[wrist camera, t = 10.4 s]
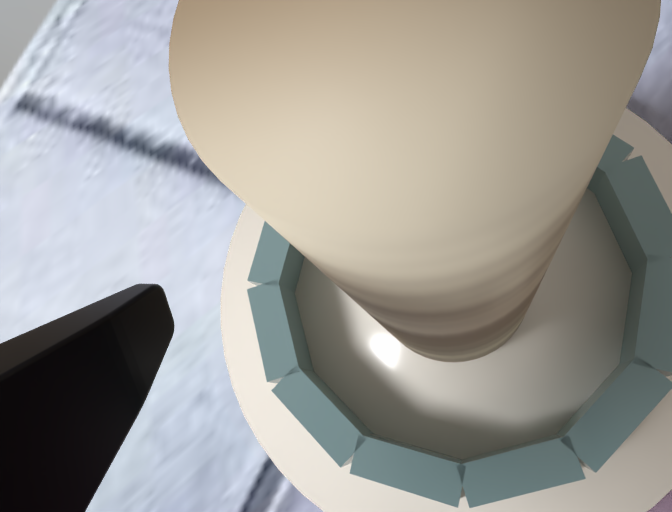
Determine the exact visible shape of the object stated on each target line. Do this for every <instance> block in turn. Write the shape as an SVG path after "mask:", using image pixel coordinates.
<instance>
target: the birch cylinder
mask: <svg viewBox="0 0 672 512" xmlns="http://www.w3.org/2000/svg"><path fill="white" fill-rule="evenodd" d="M660 6H661V0H179V2H178V5H177V9H176V12H175V15H174V19H173V25H172V31H171V37H170V43H169V74H170V83H171V92H172V96H173V99H174V103H175V107H176V111H177V114H178V117H179V120H180V122H181V124H182V126H183V129H184V131H185V133H186V135H187V138H188V140H189V141H190V143H191V144H192V146H193V147H194V149H195V150H196V152H197V153H198V155H199V157H200V158H201V160H202V161H203V162H204V163H205V164H206V165H207V167H208V168H209V169H210V170H211V171H212V172H213V173H214V174H215V175H216V177H217V178H218V179H219V180H220V181H221V182H222V183H223V184H225V185H226V186H227V187H228V188H229V189H230V190H231V191H232V192H233V193H235V194H236V195H237V196H238V197H239V198H240V199H241V200H242V201H243V202H245V203H246V204H247V205H248V206H249V207H250V208H251V209H252V210H253V211H255V212H256V213H257V214H258V215H259V216H260V217H261V218H262V219H264V220H265V221H266V222H267V223H268V224H269V225H270V226H271V227H272V228H274V229H275V230H276V231H277V232H278V233H279V234H280V235H281V236H282V237H284V238H285V239H286V240H287V241H288V242H289V243H290V244H291V245H292V246H294V247H295V248H296V249H297V250H298V251H299V252H300V253H301V254H302V255H304V256H305V257H306V258H307V259H308V260H309V261H310V262H311V263H313V264H314V265H315V266H316V267H317V268H318V269H319V270H320V271H321V272H323V273H324V274H325V275H326V276H327V277H328V278H329V279H330V280H331V281H333V282H334V283H335V284H336V285H337V286H338V287H339V288H340V289H341V290H343V291H344V292H345V293H346V294H347V295H348V296H349V297H350V298H351V299H353V300H354V301H355V302H356V303H357V304H358V305H359V306H360V307H361V308H363V309H364V310H365V311H366V312H367V313H368V314H369V315H370V316H372V317H373V318H374V319H375V320H376V321H377V322H378V323H379V324H380V325H382V326H383V327H384V328H385V329H386V330H387V331H388V332H389V333H390V334H392V335H393V336H394V337H395V338H396V339H397V340H398V341H399V342H401V343H402V344H403V345H404V346H405V347H407V348H408V349H410V350H411V351H413V352H415V353H417V354H419V355H421V356H423V357H426V358H429V359H432V360H436V361H442V362H465V361H470V360H474V359H478V358H480V357H483V356H486V355H488V354H490V353H491V352H493V351H495V350H497V349H498V348H499V347H501V346H502V345H503V344H505V343H506V342H507V341H508V340H509V339H510V338H511V337H512V335H513V334H514V333H515V332H516V330H517V329H518V327H519V326H520V324H521V322H522V321H523V319H524V317H525V314H526V312H527V310H528V308H529V306H530V304H531V302H532V300H533V298H534V296H535V294H536V292H537V290H538V288H539V286H540V284H541V281H542V279H543V277H544V275H545V273H546V271H547V269H548V267H549V265H550V263H551V261H552V259H553V257H554V255H555V253H556V251H557V248H558V246H559V244H560V242H561V240H562V238H563V236H564V234H565V232H566V230H567V228H568V226H569V224H570V222H571V220H572V218H573V215H574V213H575V211H576V209H577V207H578V205H579V203H580V201H581V199H582V197H583V195H584V193H585V191H586V189H587V187H588V185H589V182H590V180H591V178H592V176H593V174H594V172H595V170H596V168H597V166H598V164H599V162H600V160H601V158H602V156H603V154H604V152H605V149H606V147H607V145H608V143H609V141H610V139H611V137H612V135H613V133H614V131H615V129H616V127H617V125H618V123H619V121H620V119H621V117H622V114H623V112H624V110H625V108H626V106H627V104H628V102H629V100H630V98H631V96H632V94H633V92H634V90H635V88H636V86H637V84H638V81H639V79H640V77H641V75H642V72H643V70H644V67H645V65H646V62H647V60H648V57H649V55H650V53H651V50H652V48H653V43H654V39H655V35H656V31H657V26H658V22H659V18H660Z"/></svg>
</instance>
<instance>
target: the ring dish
mask: <svg viewBox="0 0 672 512" xmlns="http://www.w3.org/2000/svg"><path fill="white" fill-rule="evenodd" d="M221 332H222V340H223V348H224V356H225V360H226V364H227V368H228V372H229V375H230V379H231V383H232V387H233V389H234V392H235V394H236V397H237V399H238V402H239V404H240V407H241V409H242V412H243V414H244V416H245V418H246V420H247V422H248V424H249V425H250V427H251V429H252V431H253V433H254V434H255V436H256V438H257V440H258V442H259V443H260V445H261V446H262V448H263V449H264V450H265V452H266V453H267V454H268V456H269V457H270V458H271V460H272V461H273V462H274V464H275V465H276V467H277V468H278V469H279V471H280V472H281V473H282V474H283V475H284V476H285V477H286V478H287V479H288V480H289V481H290V482H291V483H292V484H293V485H294V486H295V487H296V488H297V489H298V490H299V491H300V492H301V493H302V494H303V495H304V496H305V497H306V498H307V499H309V500H310V501H311V502H312V503H314V504H315V505H316V506H318V507H319V508H320V509H321V510H323V511H324V512H646V511H648V510H649V509H651V508H652V507H654V506H655V505H656V504H657V503H658V502H659V501H660V500H661V499H662V498H663V497H664V496H665V495H666V494H667V493H668V492H669V491H670V490H671V489H672V144H671V143H670V142H668V141H667V140H666V139H665V138H664V137H663V136H662V135H661V134H660V133H658V132H657V131H656V130H655V129H654V128H653V127H652V126H651V125H649V124H648V123H647V122H646V121H645V120H643V119H642V118H640V117H639V116H637V115H636V114H634V113H633V112H632V111H630V110H629V109H627V108H625V110H624V112H623V114H622V117H621V119H620V121H619V123H618V125H617V127H616V129H615V131H614V133H613V135H612V137H611V139H610V141H609V143H608V145H607V147H606V149H605V152H604V154H603V156H602V158H601V160H600V162H599V164H598V166H597V168H596V170H595V172H594V174H593V176H592V178H591V180H590V182H589V185H588V187H587V189H586V191H585V193H584V195H583V197H582V199H581V201H580V203H579V205H578V207H577V209H576V211H575V213H574V215H573V218H572V220H571V222H570V224H569V226H568V228H567V230H566V232H565V234H564V236H563V238H562V240H561V242H560V244H559V246H558V248H557V251H556V253H555V255H554V257H553V259H552V261H551V263H550V265H549V267H548V269H547V271H546V273H545V275H544V277H543V279H542V281H541V284H540V286H539V288H538V290H537V292H536V294H535V296H534V298H533V300H532V302H531V304H530V306H529V308H528V310H527V312H526V314H525V317H524V319H523V321H522V322H521V324H520V326H519V327H518V329H517V330H516V332H515V333H514V334H513V335H512V337H511V338H510V339H509V340H508V341H507V342H506V343H505V344H503V345H502V346H501V347H499V348H498V349H497V350H495V351H493V352H491V353H490V354H488V355H486V356H483V357H480V358H478V359H474V360H470V361H465V362H442V361H436V360H432V359H429V358H426V357H423V356H421V355H419V354H417V353H415V352H413V351H411V350H410V349H408V348H407V347H405V346H404V345H403V344H402V343H401V342H399V341H398V340H397V339H396V338H395V337H394V336H393V335H392V334H390V333H389V332H388V331H387V330H386V329H385V328H384V327H383V326H382V325H380V324H379V323H378V322H377V321H376V320H375V319H374V318H373V317H372V316H370V315H369V314H368V313H367V312H366V311H365V310H364V309H363V308H361V307H360V306H359V305H358V304H357V303H356V302H355V301H354V300H353V299H351V298H350V297H349V296H348V295H347V294H346V293H345V292H344V291H343V290H341V289H340V288H339V287H338V286H337V285H336V284H335V283H334V282H333V281H331V280H330V279H329V278H328V277H327V276H326V275H325V274H324V273H323V272H321V271H320V270H319V269H318V268H317V267H316V266H315V265H314V264H313V263H311V262H310V261H309V260H308V259H307V258H306V257H305V256H304V255H302V254H301V253H300V252H299V251H298V250H297V249H296V248H295V247H294V246H292V245H291V244H290V243H289V242H288V241H287V240H286V239H285V238H284V237H282V236H281V235H280V234H279V233H278V232H277V231H276V230H275V229H274V228H272V227H271V226H270V225H269V224H268V223H267V222H266V221H265V220H264V219H262V218H261V217H260V216H259V215H258V214H257V213H256V212H255V211H253V210H252V209H251V208H250V207H249V206H248V205H247V204H246V205H245V207H244V209H243V211H242V213H241V215H240V217H239V220H238V223H237V225H236V228H235V231H234V233H233V236H232V239H231V242H230V246H229V250H228V254H227V258H226V263H225V267H224V273H223V282H222V290H221Z"/></svg>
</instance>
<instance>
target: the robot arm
mask: <svg viewBox="0 0 672 512" xmlns="http://www.w3.org/2000/svg"><path fill="white" fill-rule="evenodd" d="M173 333H174V320H173V317H172V314H171V311H170V308H169V305H168V301H167V298H166V295H165V292H164V290H163V288H162V287H161V286H159V285H158V284H136V285H134V286H132V287H129V288H127V289H125V290H122V291H120V292H118V293H115V294H113V295H111V296H109V297H106V298H104V299H102V300H99V301H97V302H95V303H93V304H90V305H88V306H86V307H83V308H81V309H79V310H76V311H74V312H72V313H70V314H67V315H65V316H63V317H60V318H58V319H56V320H54V321H51V322H49V323H47V324H44V325H42V326H40V327H38V328H35V329H33V330H31V331H28V332H26V333H24V334H21V335H19V336H17V337H15V338H12V339H10V340H8V341H5V342H3V343H1V344H0V512H85V511H86V509H87V507H88V505H89V504H90V502H91V500H92V498H93V496H94V494H95V493H96V491H97V489H98V487H99V485H100V484H101V482H102V480H103V478H104V476H105V474H106V473H107V471H108V469H109V467H110V465H111V463H112V462H113V460H114V458H115V456H116V454H117V452H118V451H119V449H120V447H121V445H122V443H123V442H124V440H125V438H126V436H127V434H128V432H129V431H130V429H131V427H132V425H133V423H134V421H135V420H136V418H137V416H138V414H139V412H140V410H141V408H142V406H143V404H144V402H145V400H146V398H147V395H148V393H149V391H150V389H151V386H152V384H153V381H154V379H155V377H156V374H157V372H158V370H159V367H160V365H161V362H162V360H163V358H164V355H165V353H166V351H167V348H168V346H169V343H170V341H171V339H172V336H173Z"/></svg>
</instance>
